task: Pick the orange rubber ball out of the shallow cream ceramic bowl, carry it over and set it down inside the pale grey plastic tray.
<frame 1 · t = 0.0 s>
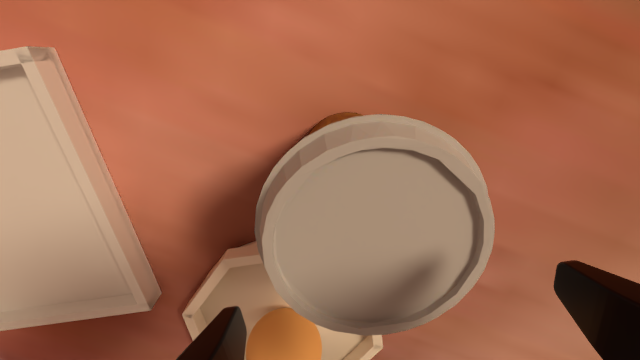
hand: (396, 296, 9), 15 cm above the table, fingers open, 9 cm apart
ball: (284, 348, 24), point 4 cm above the table, touching bowl
disposable coffee cup: (345, 154, 23), on the table
bowl: (288, 311, 28), on the table
tray: (22, 204, 23), on the table
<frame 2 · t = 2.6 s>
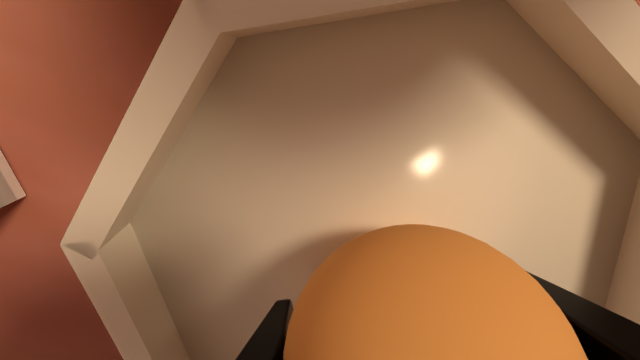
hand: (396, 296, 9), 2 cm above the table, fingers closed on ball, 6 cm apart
bowl: (382, 257, 10), on the table
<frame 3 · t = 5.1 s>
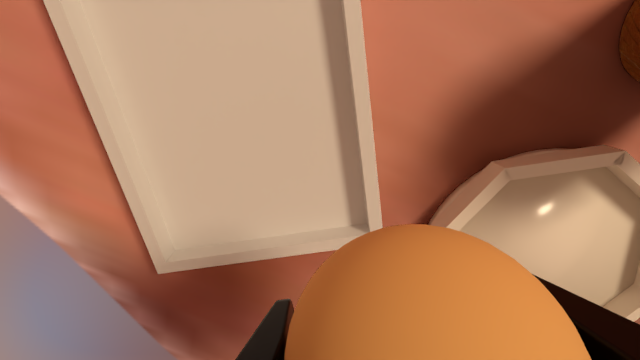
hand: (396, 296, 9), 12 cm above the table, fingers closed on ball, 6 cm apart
bowl: (527, 255, 22), on the table
tray: (237, 99, 18), on the table
when the fingers open (3 cm above the table, at t = 7.9 s): ball drops 2 cm, resting on tray.
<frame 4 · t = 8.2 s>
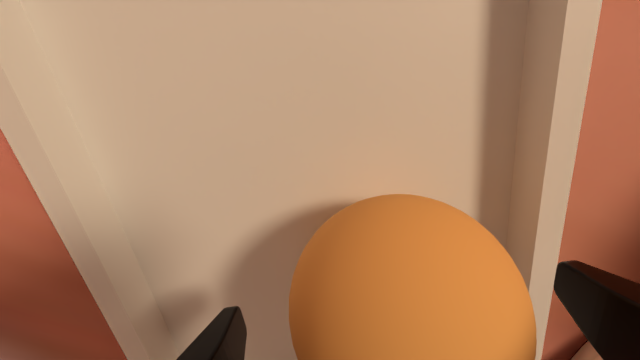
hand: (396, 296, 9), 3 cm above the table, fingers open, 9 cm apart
ball: (400, 305, 8), point 4 cm above the table, touching tray
tray: (311, 182, 11), on the table
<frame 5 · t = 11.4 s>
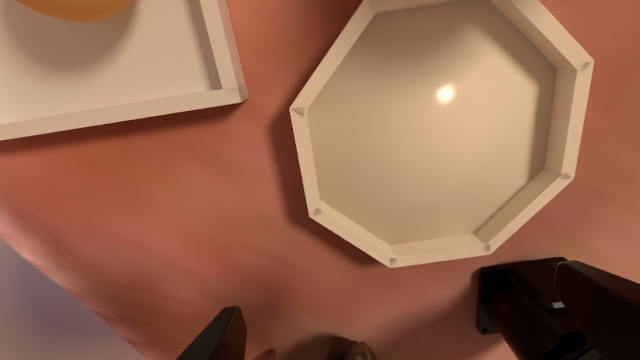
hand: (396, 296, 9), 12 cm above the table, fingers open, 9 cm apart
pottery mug: (324, 354, 27), on the table
bowl: (425, 136, 19), on the table
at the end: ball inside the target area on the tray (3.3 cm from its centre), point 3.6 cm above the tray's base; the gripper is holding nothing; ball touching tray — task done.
